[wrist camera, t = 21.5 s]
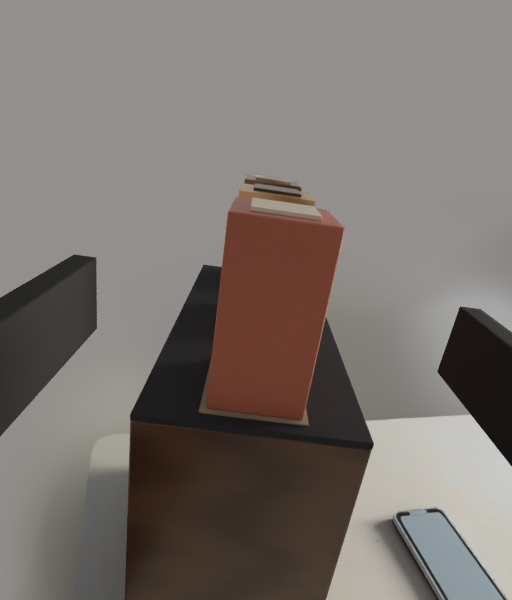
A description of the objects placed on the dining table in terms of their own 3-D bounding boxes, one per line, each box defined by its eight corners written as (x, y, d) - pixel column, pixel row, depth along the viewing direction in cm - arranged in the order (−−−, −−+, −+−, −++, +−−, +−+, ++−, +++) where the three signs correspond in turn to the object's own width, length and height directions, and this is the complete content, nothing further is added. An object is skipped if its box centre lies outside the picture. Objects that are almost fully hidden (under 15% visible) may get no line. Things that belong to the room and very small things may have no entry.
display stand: (120, 730, 29) (130, 420, 19) (184, 466, 54) (203, 268, 44) (281, 745, 30) (372, 450, 20) (272, 476, 54) (311, 282, 44)
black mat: (130, 420, 19) (130, 412, 19) (203, 268, 44) (203, 263, 43) (372, 450, 20) (374, 442, 20) (311, 282, 44) (312, 278, 44)
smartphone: (475, 655, 37) (390, 511, 50) (471, 660, 37) (388, 517, 50) (538, 640, 38) (440, 506, 52) (534, 646, 39) (438, 511, 52)
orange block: (205, 408, 20) (228, 206, 17) (216, 359, 25) (236, 192, 21) (303, 421, 20) (347, 223, 17) (295, 369, 25) (328, 206, 21)
